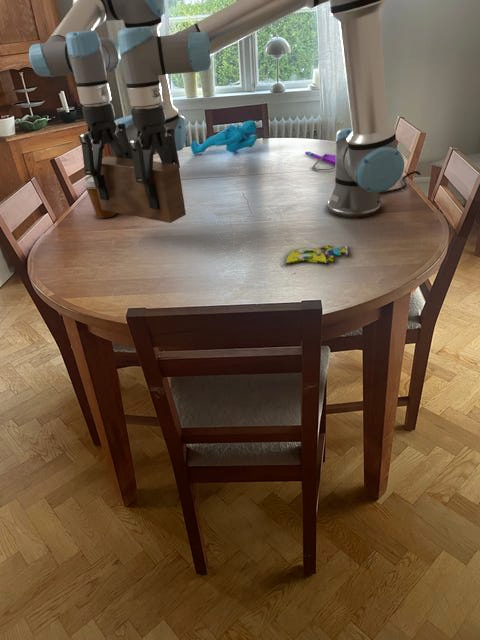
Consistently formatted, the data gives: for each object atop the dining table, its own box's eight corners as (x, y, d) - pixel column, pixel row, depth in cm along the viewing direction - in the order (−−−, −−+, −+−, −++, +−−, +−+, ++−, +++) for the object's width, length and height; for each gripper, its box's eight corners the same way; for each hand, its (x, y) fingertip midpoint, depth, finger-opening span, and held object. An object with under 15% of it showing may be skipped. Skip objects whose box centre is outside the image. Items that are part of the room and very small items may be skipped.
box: (101, 209, 133) (89, 162, 126) (117, 202, 137) (107, 156, 130) (170, 223, 120) (161, 171, 113) (186, 214, 124) (178, 164, 117)
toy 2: (349, 261, 112) (285, 261, 114) (349, 264, 113) (285, 265, 115) (347, 243, 120) (287, 244, 123) (346, 246, 121) (287, 247, 123)
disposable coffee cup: (85, 218, 153) (75, 181, 146) (103, 208, 160) (94, 172, 154) (110, 221, 150) (101, 182, 143) (127, 210, 157) (119, 173, 150)
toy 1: (195, 134, 218) (257, 114, 208) (203, 157, 223) (264, 139, 213) (184, 143, 204) (250, 123, 194) (193, 168, 209) (257, 149, 199)
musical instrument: (342, 175, 173) (362, 153, 185) (341, 169, 172) (361, 148, 184) (283, 174, 186) (305, 153, 198) (282, 169, 184) (305, 148, 196)
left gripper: (73, 112, 109) (97, 208, 121) (137, 96, 123) (152, 184, 135) (52, 111, 113) (77, 205, 125) (116, 96, 127) (134, 181, 139)
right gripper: (128, 115, 101) (148, 219, 114) (186, 98, 114) (198, 193, 127) (104, 114, 105) (126, 214, 118) (162, 98, 118) (176, 190, 130)
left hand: (116, 194), depth 130 cm, fingers open, 8 cm apart
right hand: (163, 203), depth 122 cm, fingers closed on box, 6 cm apart
